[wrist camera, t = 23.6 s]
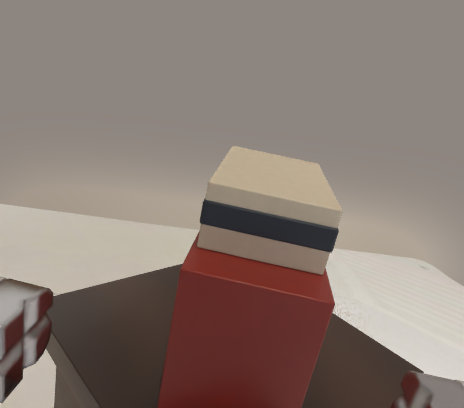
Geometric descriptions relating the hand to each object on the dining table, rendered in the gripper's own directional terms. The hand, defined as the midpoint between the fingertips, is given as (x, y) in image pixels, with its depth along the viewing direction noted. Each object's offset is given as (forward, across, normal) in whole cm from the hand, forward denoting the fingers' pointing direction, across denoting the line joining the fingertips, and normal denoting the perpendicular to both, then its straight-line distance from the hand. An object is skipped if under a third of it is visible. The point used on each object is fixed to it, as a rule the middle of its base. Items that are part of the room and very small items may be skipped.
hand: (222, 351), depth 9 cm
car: (+10, -1, +7) cm, 12 cm away
